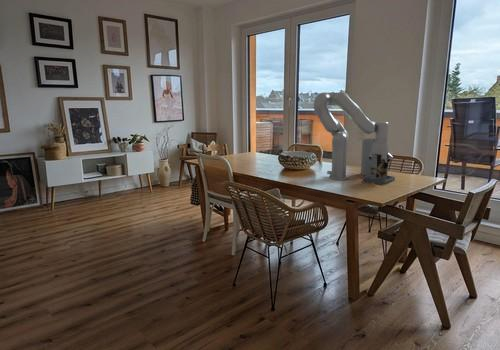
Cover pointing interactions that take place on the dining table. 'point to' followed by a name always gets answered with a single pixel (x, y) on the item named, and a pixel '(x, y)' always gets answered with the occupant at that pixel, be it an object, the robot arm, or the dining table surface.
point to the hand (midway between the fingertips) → (379, 167)
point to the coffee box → (378, 167)
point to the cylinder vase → (366, 156)
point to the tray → (379, 180)
